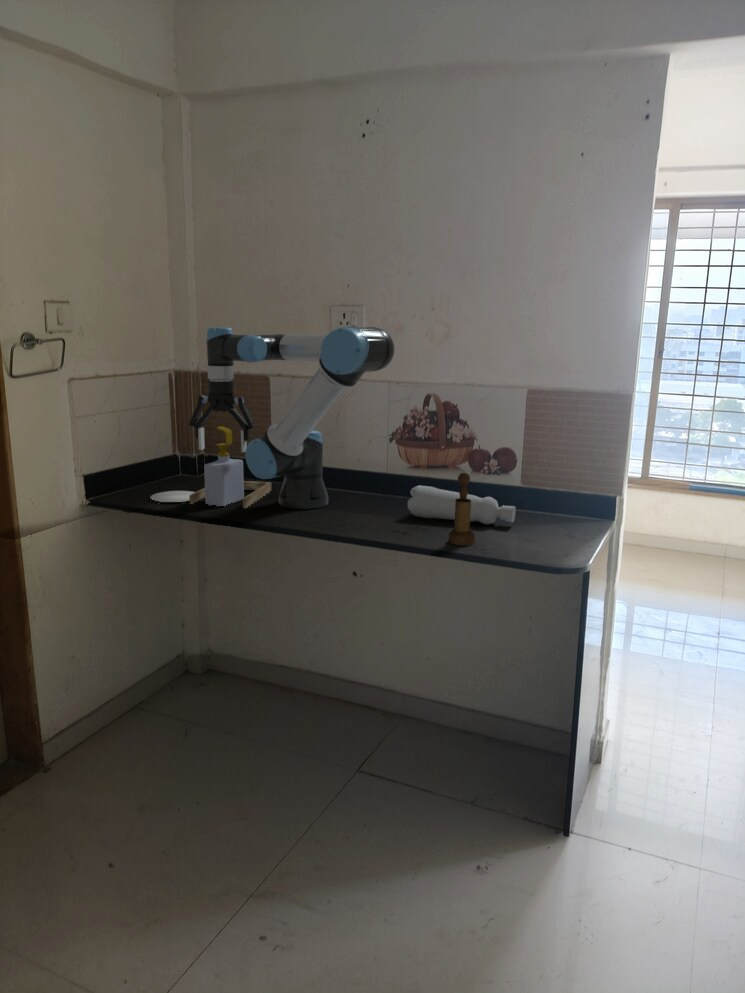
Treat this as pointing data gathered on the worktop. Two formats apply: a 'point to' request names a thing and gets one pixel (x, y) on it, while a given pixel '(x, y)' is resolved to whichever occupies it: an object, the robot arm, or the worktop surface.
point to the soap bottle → (224, 476)
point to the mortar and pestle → (462, 516)
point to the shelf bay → (259, 488)
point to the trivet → (172, 496)
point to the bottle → (443, 506)
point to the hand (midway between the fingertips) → (222, 450)
